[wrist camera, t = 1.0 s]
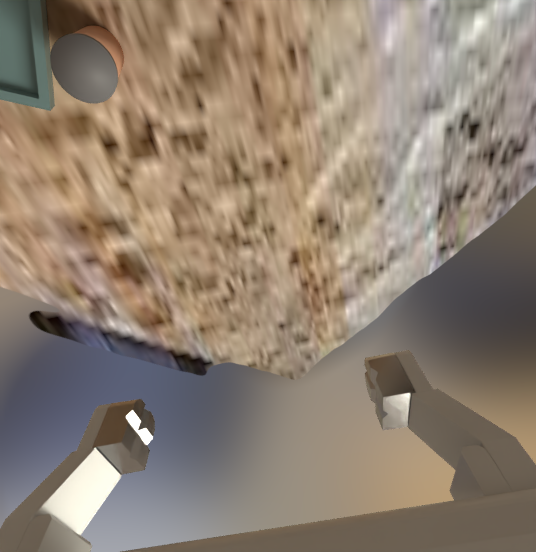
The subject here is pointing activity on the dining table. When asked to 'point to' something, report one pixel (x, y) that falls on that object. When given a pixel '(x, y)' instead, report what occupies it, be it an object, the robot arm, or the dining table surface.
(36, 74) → the tray
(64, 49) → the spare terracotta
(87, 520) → the robot arm
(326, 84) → the dining table surface
